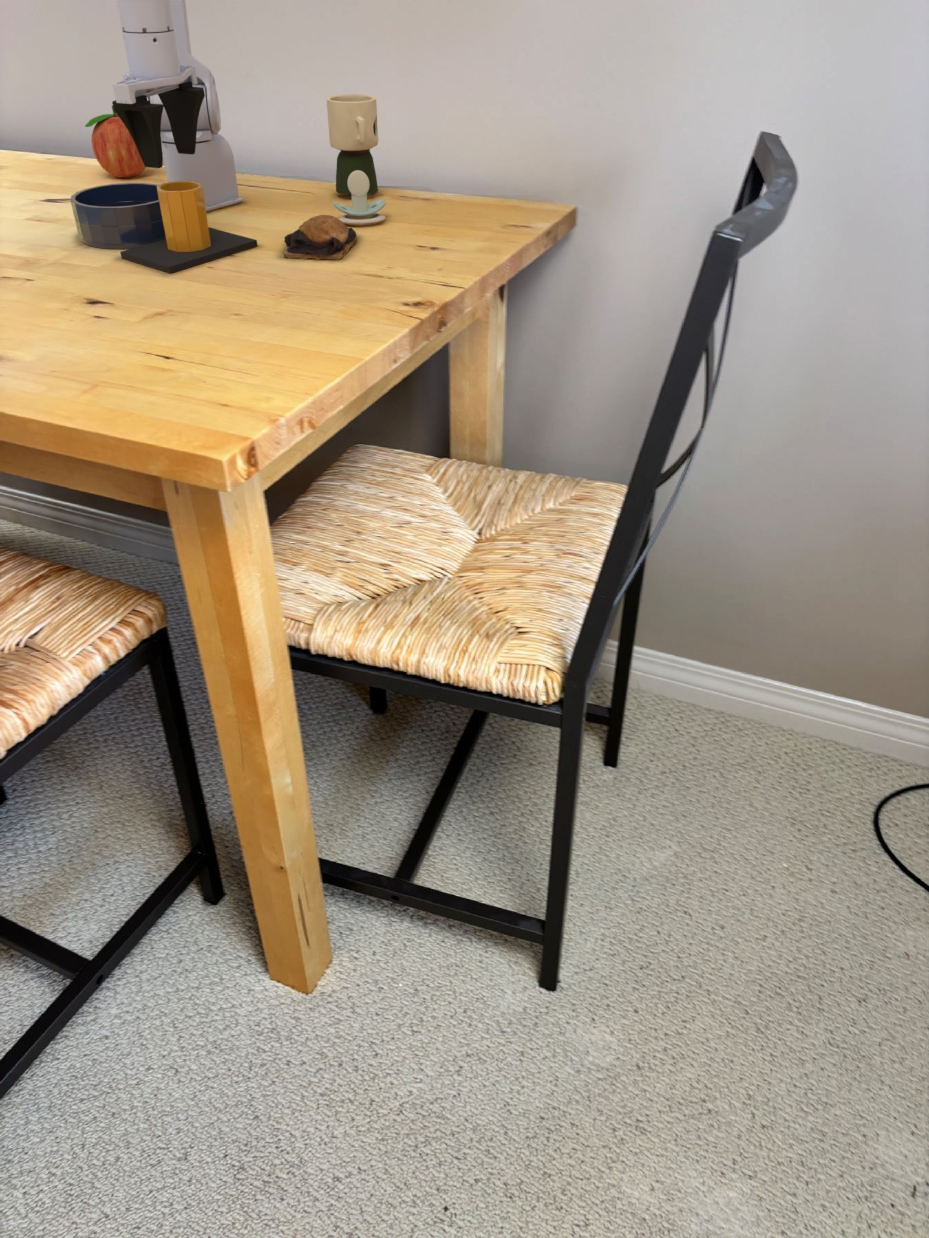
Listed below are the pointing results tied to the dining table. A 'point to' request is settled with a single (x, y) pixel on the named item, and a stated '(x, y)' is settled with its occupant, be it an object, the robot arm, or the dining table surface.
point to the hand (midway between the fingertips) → (170, 160)
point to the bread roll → (320, 239)
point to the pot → (118, 215)
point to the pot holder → (175, 261)
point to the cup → (184, 216)
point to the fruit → (115, 146)
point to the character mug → (353, 137)
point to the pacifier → (360, 202)
